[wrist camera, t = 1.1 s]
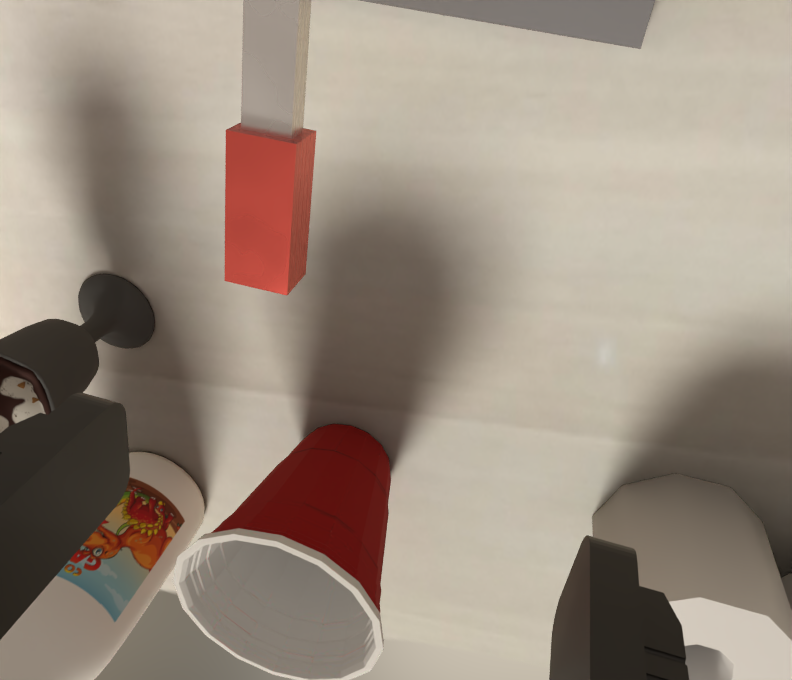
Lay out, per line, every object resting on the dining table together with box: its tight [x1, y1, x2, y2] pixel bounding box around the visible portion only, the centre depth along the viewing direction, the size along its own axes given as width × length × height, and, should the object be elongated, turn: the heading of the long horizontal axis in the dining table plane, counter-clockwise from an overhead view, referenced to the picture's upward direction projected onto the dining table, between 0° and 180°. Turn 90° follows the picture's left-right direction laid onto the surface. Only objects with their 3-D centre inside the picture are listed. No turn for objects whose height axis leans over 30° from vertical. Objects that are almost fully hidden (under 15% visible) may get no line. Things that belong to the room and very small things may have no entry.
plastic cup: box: [173, 424, 391, 680], centre depth 38 cm, size 11×11×12 cm
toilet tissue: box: [592, 473, 792, 680], centre depth 36 cm, size 9×13×9 cm
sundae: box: [0, 274, 154, 433], centre depth 35 cm, size 7×7×15 cm
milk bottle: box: [0, 452, 205, 680], centre depth 40 cm, size 8×8×20 cm
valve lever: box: [225, 0, 316, 295], centre depth 20 cm, size 14×3×2 cm, turn 173°
